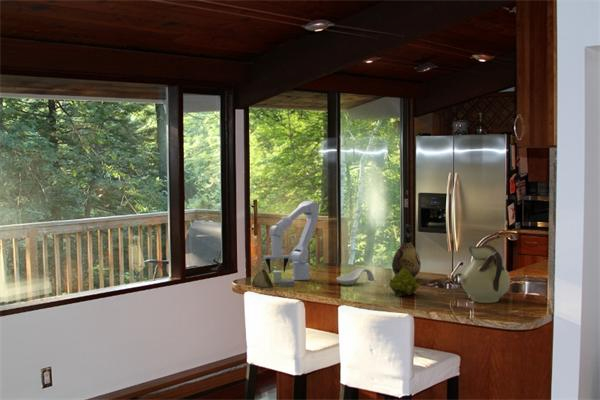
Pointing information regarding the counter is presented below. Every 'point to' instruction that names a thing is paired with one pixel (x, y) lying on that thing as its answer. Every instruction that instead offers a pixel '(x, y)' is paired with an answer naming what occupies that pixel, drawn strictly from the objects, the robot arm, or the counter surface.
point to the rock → (262, 279)
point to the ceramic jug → (406, 255)
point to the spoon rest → (354, 277)
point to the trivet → (286, 282)
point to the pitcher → (485, 275)
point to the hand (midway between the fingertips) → (277, 272)
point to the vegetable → (403, 283)
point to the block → (277, 276)
